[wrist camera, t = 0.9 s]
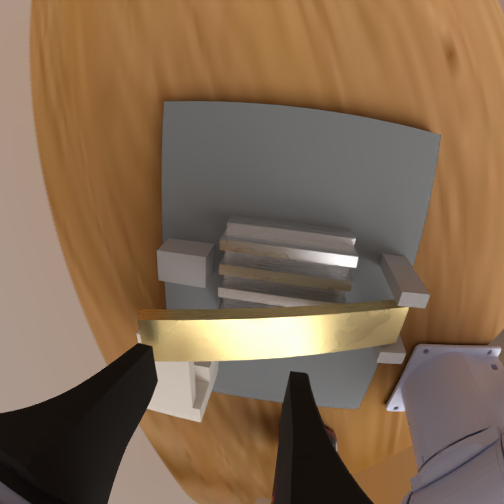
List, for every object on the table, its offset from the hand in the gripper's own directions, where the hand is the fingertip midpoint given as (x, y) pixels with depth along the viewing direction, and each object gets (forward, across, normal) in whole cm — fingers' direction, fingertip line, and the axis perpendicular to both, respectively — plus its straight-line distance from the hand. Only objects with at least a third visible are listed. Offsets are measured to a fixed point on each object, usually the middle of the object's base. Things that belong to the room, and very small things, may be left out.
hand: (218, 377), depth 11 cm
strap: (+4, -2, 0) cm, 4 cm away
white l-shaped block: (+9, +4, +6) cm, 12 cm away
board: (+10, -2, +1) cm, 11 cm away
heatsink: (+9, -2, 0) cm, 9 cm away
